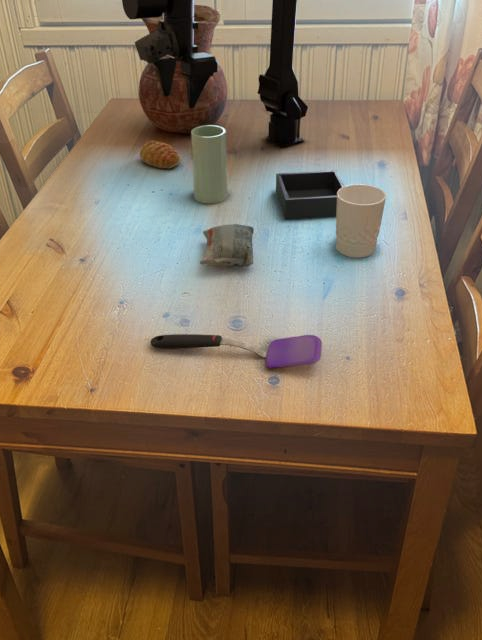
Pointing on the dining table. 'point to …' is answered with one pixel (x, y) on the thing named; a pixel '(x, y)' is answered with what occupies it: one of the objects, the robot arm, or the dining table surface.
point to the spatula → (252, 347)
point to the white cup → (358, 219)
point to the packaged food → (229, 246)
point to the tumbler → (209, 163)
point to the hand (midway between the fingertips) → (178, 102)
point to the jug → (184, 84)
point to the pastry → (159, 155)
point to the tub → (308, 194)
